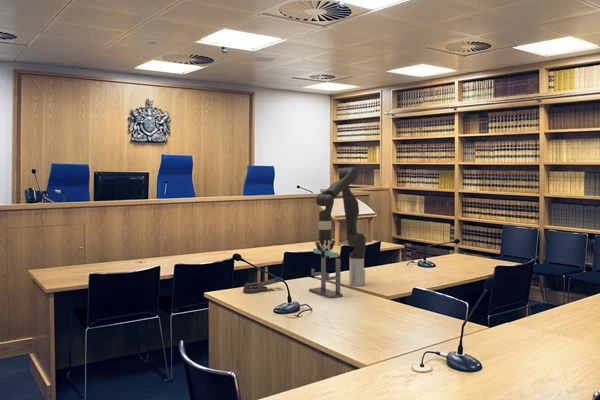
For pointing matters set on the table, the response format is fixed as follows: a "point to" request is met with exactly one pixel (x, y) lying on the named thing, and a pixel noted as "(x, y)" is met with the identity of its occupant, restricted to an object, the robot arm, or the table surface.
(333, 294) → the hook rack
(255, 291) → the dark grey elongated piece
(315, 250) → the teal rail
